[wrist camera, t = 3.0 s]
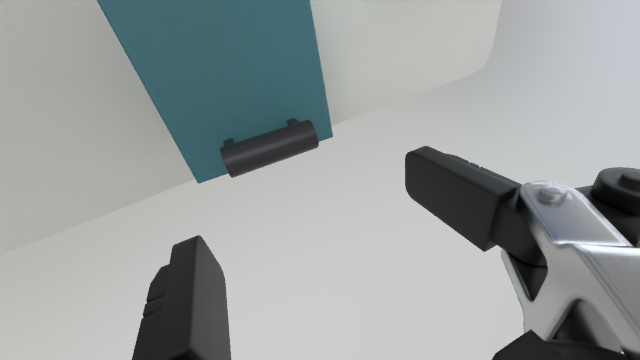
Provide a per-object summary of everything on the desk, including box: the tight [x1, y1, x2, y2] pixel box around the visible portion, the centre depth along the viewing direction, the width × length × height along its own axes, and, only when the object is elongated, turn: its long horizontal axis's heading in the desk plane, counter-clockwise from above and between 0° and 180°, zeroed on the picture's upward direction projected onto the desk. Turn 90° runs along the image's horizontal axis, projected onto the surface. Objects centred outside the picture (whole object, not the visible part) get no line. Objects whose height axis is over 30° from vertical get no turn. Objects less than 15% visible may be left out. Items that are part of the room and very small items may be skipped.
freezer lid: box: [97, 0, 333, 183], centre depth 15 cm, size 13×12×5 cm
